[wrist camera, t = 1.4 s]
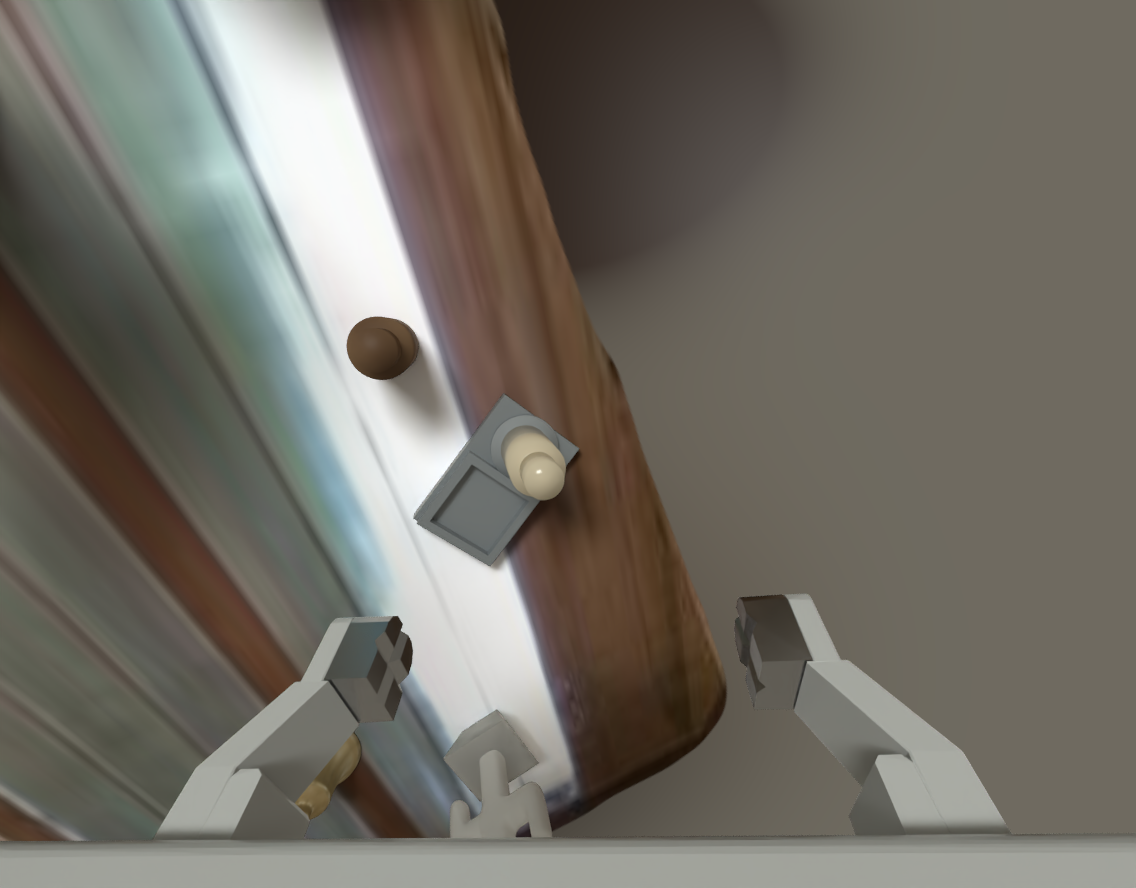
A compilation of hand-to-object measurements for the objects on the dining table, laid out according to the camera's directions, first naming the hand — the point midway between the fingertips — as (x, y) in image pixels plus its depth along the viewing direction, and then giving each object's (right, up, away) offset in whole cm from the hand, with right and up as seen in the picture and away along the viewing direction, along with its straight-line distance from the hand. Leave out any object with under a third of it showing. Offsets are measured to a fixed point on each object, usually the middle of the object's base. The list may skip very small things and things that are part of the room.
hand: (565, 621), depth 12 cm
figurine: (-9, -28, +43) cm, 52 cm away
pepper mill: (-15, +13, +31) cm, 37 cm away
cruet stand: (-7, +1, +36) cm, 37 cm away
